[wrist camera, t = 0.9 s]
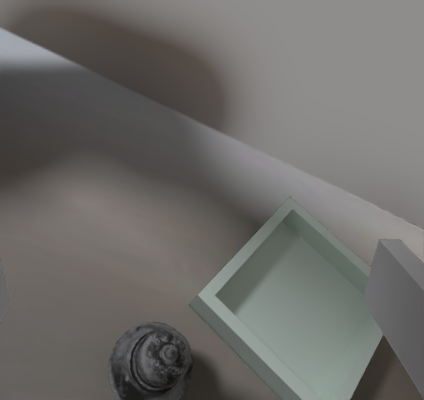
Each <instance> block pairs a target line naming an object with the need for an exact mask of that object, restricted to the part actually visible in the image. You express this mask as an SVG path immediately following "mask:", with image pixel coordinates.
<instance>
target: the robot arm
mask: <svg viewBox="0 0 424 400" xmlns="http://www.w3.org/2000/svg"><path fill="white" fill-rule="evenodd" d="M363 302H364V304H365V305H366V307H367V308H368V310H369V312H370V313H371V315H372V317H373V318H374V320H375V321H376V323H377V325H378V326H379V328H380V330H381V331H382V333H383V334H384V336H385V338H386V339H387V341H388V342H389V344H390V346H391V347H392V349H393V351H394V352H395V354H396V355H397V357H398V359H399V360H400V362H401V364H402V365H403V367H404V368H405V370H406V372H407V373H408V375H409V377H410V378H411V380H412V381H413V383H414V385H415V386H416V388H417V390H418V391H419V393H420V394H421V396H422V398H423V399H424V263H423V262H422V261H421V260H420V259H419V258H418V257H417V256H416V255H415V254H414V253H413V252H412V251H411V250H410V249H409V248H408V247H407V246H406V245H405V244H404V243H403V242H402V241H401V240H400V239H379V241H378V245H377V249H376V252H375V256H374V260H373V263H372V267H371V271H370V275H369V278H368V282H367V286H366V290H365V293H364V297H363ZM12 305H13V302H12V298H11V295H10V291H9V287H8V284H7V280H6V277H5V273H4V270H3V266H2V263H1V259H0V323H1V321H2V320H3V318H4V317H5V315H6V314H7V312H8V311H9V309H10V308H11V306H12Z"/></svg>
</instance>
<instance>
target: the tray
mask: <svg viewBox="0 0 424 400" xmlns="http://www.w3.org/2000/svg"><path fill="white" fill-rule="evenodd" d="M370 271H371V268H370V267H369V266H368V265H367V264H366V263H364V262H363V261H362V260H361V259H360V258H359V257H358V256H357V255H356V254H354V253H353V252H352V251H351V250H350V249H349V248H348V247H347V246H345V245H344V244H343V243H342V242H341V241H340V240H339V239H338V238H336V237H335V236H334V235H333V234H332V233H331V232H330V231H329V230H328V229H326V228H325V227H324V226H323V225H322V224H321V223H320V222H319V221H317V220H316V219H315V218H314V217H313V216H312V215H311V214H310V213H308V212H307V211H306V210H305V209H304V208H303V207H302V206H301V205H300V204H298V203H297V202H296V201H295V200H294V199H293V198H292V197H291V196H290V197H289V198H288V199H287V200H286V201H285V202H284V203H283V205H282V206H281V207H280V208H279V209H278V210H277V211H276V212H275V213H274V214H273V215H272V216H271V217H270V218H269V220H268V221H267V222H266V223H265V224H264V225H263V226H262V227H261V228H260V229H259V230H258V231H257V232H256V233H255V234H254V236H253V237H252V238H251V239H250V240H249V241H248V242H247V243H246V244H245V245H244V246H243V247H242V248H241V249H240V250H239V252H238V253H237V254H236V255H235V256H234V257H233V258H232V259H231V260H230V261H229V262H228V263H227V264H226V265H225V266H224V268H223V269H222V270H221V271H220V272H219V273H218V274H217V275H216V276H215V277H214V278H213V279H212V280H211V281H210V283H209V284H208V285H207V286H206V287H205V288H204V289H203V290H202V291H201V292H200V293H199V294H198V295H197V296H196V297H195V299H194V300H193V301H192V302H191V303H190V304H189V306H190V307H191V308H192V309H193V310H194V311H195V312H196V313H197V314H198V315H199V316H200V317H201V318H202V319H203V320H204V321H205V322H206V323H207V324H208V325H209V326H210V327H211V328H212V329H213V330H214V331H215V332H216V333H217V334H218V335H219V336H220V337H221V338H222V339H223V340H224V341H225V342H226V343H227V344H228V345H229V346H230V347H231V348H232V349H233V350H234V351H235V352H236V353H237V354H238V355H239V356H240V357H241V358H242V359H243V361H244V362H245V363H246V364H247V365H248V366H249V367H250V368H251V369H252V370H253V371H254V372H255V373H256V374H257V375H258V376H259V377H260V378H261V379H262V380H263V381H264V382H265V383H266V384H267V385H268V386H269V387H270V388H271V389H272V390H273V391H274V392H275V393H276V394H277V395H278V396H279V397H280V398H281V399H282V400H350V399H351V397H352V395H353V393H354V391H355V389H356V387H357V385H358V383H359V381H360V379H361V377H362V375H363V373H364V371H365V369H366V367H367V366H368V364H369V362H370V360H371V358H372V356H373V354H374V352H375V350H376V348H377V346H378V344H379V342H380V340H381V338H382V336H383V333H382V331H381V330H380V328H379V326H378V325H377V323H376V321H375V320H374V318H373V317H372V315H371V313H370V312H369V310H368V308H367V307H366V305H365V304H364V302H363V297H364V293H365V290H366V286H367V282H368V278H369V275H370Z"/></svg>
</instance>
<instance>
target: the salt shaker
mask: <svg viewBox="0 0 424 400" xmlns="http://www.w3.org/2000/svg"><path fill="white" fill-rule="evenodd" d="M191 373H192V357H191V350H190V346H189V343H188V341H187V340H186V338H185V337H184V336H183V335H182V334H181V333H180V332H178V331H176V330H175V329H174V328H172V327H170V326H168V325H166V324H163V323H158V322H149V323H143V324H140V325H137V326H135V327H133V328H131V329H130V330H129V331H127V332H126V333H124V335H123V336H122V337H121V338H120V339H119V340H118V341H117V343H116V345H115V347H114V349H113V351H112V353H111V356H110V360H109V364H108V378H109V382H110V385H111V389H112V391H113V393H114V394H115V396H116V398H117V400H179V399H180V398H181V396H182V395H183V393H184V392H185V391H186V389H187V386H188V384H189V381H190V379H191Z"/></svg>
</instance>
